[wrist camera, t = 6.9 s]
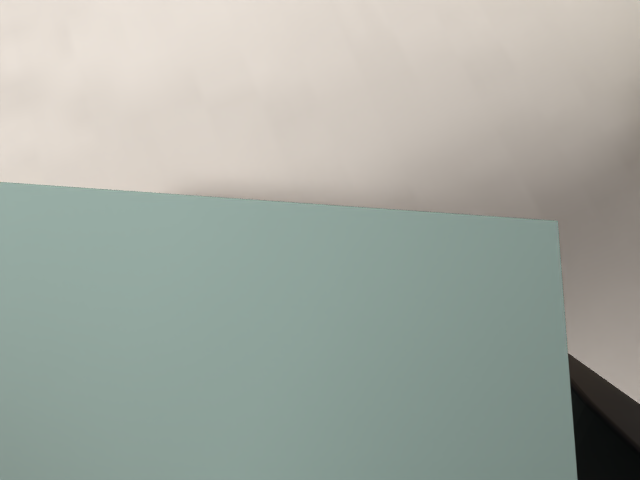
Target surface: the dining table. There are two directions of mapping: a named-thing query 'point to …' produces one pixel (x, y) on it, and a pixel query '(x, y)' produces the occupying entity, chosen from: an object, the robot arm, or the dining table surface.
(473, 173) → the dining table surface
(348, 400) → the teal block
